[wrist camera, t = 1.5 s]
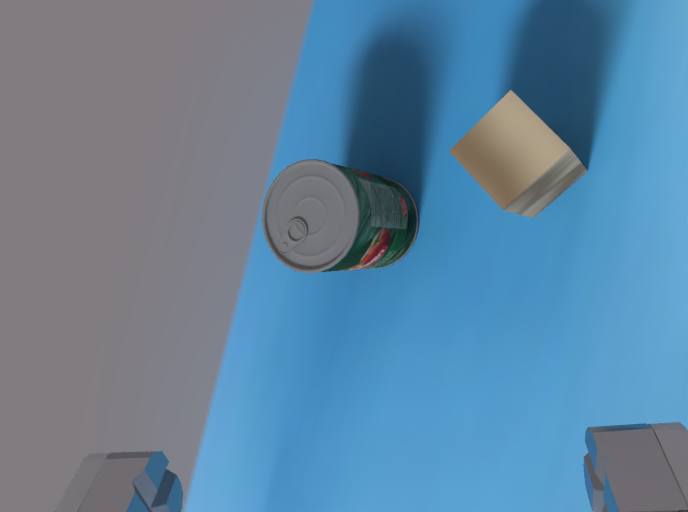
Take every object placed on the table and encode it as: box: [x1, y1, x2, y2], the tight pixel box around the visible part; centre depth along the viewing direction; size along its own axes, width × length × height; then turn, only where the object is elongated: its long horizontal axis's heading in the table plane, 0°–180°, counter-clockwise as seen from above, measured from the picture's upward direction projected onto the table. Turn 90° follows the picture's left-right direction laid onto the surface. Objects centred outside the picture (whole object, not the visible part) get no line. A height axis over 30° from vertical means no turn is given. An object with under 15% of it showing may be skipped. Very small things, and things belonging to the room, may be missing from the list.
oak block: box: [450, 90, 587, 218], centre depth 38 cm, size 5×5×10 cm
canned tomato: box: [262, 159, 419, 273], centre depth 44 cm, size 8×8×11 cm
